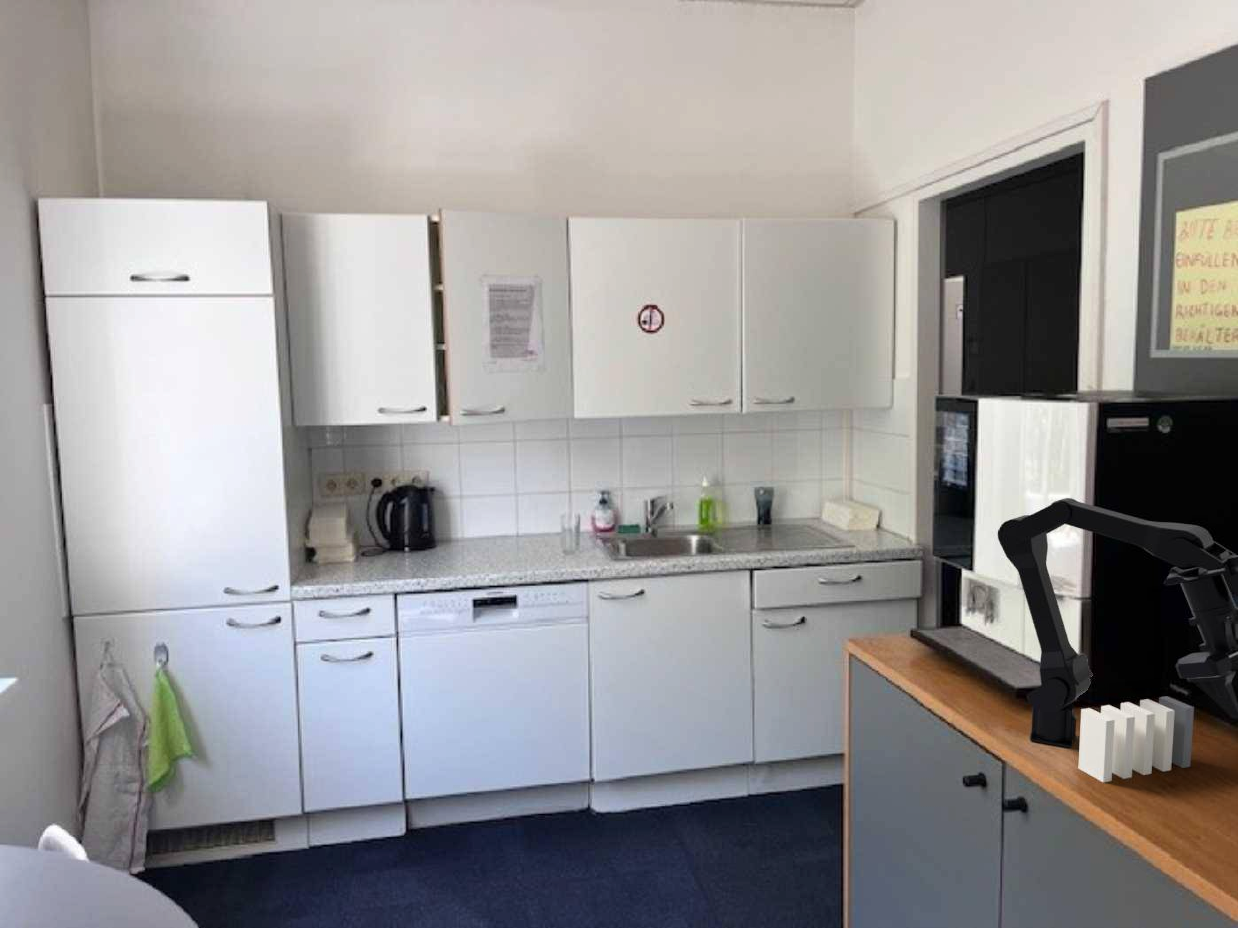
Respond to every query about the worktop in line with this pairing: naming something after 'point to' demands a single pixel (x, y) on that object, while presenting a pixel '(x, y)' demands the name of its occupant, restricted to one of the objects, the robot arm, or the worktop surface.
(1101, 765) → the domino
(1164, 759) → the domino
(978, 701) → the worktop surface
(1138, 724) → the domino
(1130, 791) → the worktop surface
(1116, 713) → the domino
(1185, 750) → the domino
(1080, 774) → the worktop surface
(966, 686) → the worktop surface
